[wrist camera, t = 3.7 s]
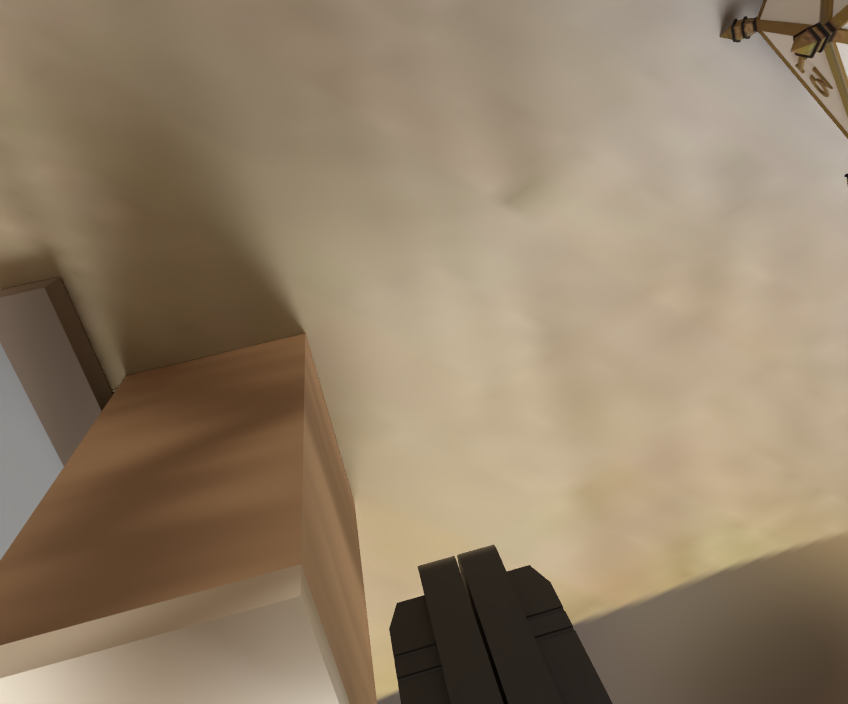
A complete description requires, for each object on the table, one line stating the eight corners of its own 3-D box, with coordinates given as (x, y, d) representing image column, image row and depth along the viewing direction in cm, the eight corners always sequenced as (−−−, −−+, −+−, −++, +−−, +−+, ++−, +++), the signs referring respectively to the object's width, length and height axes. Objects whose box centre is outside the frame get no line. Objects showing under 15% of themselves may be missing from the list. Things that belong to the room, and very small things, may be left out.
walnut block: (305, 333, 17) (300, 595, 8) (354, 503, 19) (394, 855, 10) (126, 375, 17) (-99, 705, 7) (198, 544, 19) (96, 949, 10)
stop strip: (60, 276, 15) (44, 287, 14) (213, 618, 20) (208, 643, 19) (-1, 290, 15) (-21, 301, 14) (168, 631, 20) (161, 656, 19)
